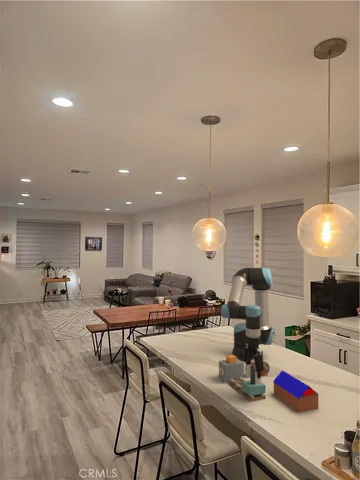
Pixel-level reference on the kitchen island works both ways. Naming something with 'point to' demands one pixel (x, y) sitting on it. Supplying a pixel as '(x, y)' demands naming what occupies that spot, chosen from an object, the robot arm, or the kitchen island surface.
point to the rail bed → (238, 386)
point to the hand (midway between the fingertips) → (253, 380)
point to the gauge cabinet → (231, 370)
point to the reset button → (231, 358)
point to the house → (295, 392)
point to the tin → (266, 368)
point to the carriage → (253, 384)
